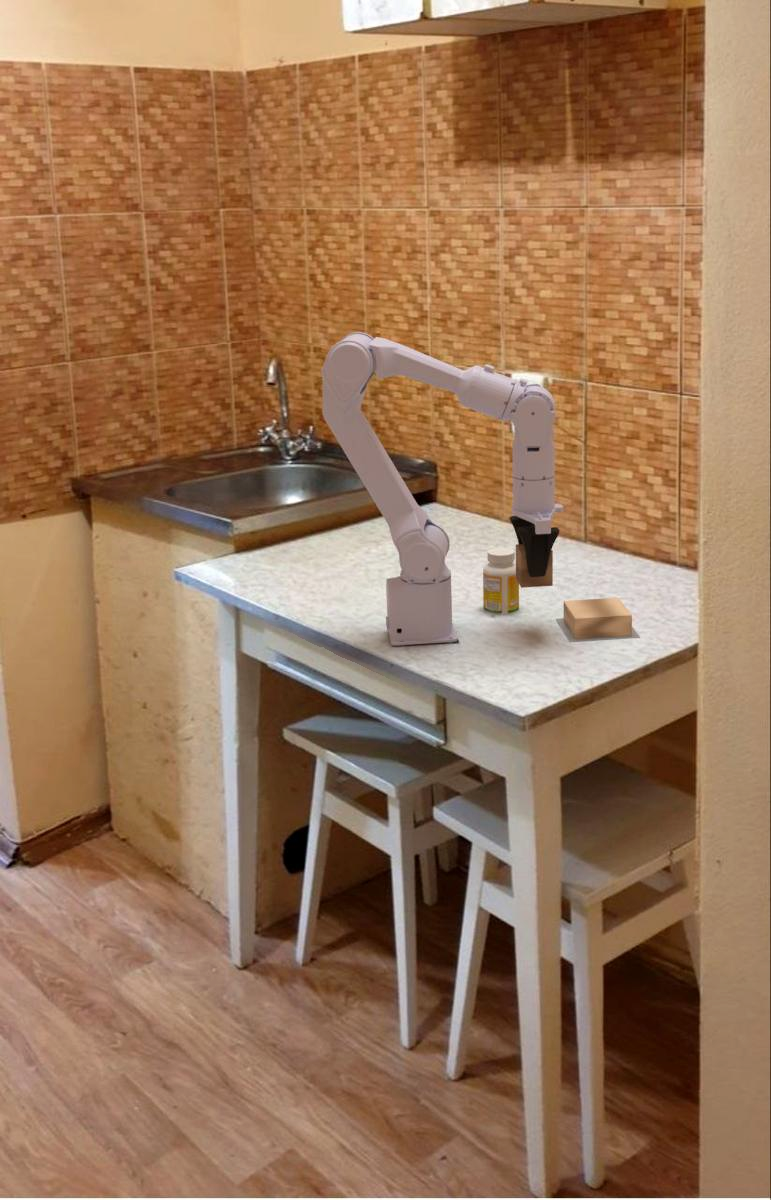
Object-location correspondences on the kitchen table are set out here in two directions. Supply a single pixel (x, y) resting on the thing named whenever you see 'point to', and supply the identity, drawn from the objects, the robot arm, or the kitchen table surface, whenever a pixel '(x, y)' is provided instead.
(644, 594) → the kitchen table surface
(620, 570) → the kitchen table surface
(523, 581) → the walnut block
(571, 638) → the baseplate
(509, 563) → the supplement bottle
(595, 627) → the oak brick
